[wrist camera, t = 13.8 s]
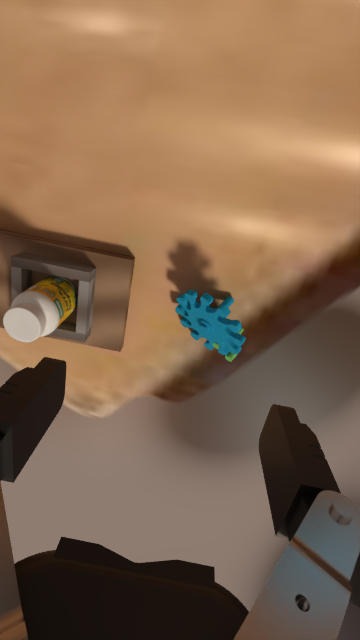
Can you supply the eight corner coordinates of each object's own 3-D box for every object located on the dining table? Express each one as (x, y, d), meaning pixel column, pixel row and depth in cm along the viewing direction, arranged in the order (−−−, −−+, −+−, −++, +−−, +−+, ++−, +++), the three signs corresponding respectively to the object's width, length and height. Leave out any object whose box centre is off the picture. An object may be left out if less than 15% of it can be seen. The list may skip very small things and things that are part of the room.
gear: (159, 296, 41) (214, 297, 33) (188, 269, 44) (245, 264, 36) (199, 358, 46) (255, 371, 38) (222, 330, 49) (279, 337, 41)
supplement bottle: (31, 287, 42) (-16, 316, 33) (61, 266, 40) (21, 290, 32) (57, 320, 44) (20, 356, 35) (88, 301, 42) (57, 333, 33)
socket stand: (-5, 228, 41) (-27, 233, 37) (134, 257, 41) (127, 265, 37) (-2, 320, 46) (-20, 333, 42) (122, 346, 46) (115, 360, 42)
